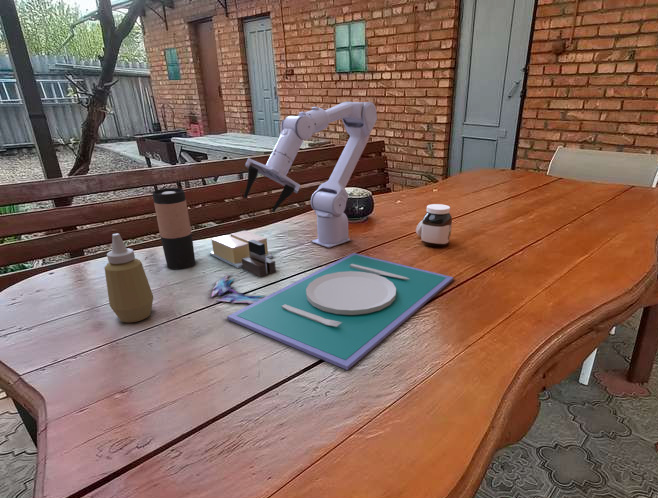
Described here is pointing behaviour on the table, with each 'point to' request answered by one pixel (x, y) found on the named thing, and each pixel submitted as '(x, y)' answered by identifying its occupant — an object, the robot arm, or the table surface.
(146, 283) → the squeeze bottle
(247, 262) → the stand
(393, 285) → the place mat
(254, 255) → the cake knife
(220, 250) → the cake
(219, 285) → the decorative blades
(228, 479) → the table surface
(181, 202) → the travel mug
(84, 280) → the table surface
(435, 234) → the spread jar
